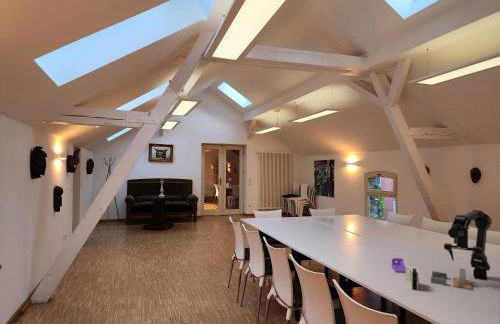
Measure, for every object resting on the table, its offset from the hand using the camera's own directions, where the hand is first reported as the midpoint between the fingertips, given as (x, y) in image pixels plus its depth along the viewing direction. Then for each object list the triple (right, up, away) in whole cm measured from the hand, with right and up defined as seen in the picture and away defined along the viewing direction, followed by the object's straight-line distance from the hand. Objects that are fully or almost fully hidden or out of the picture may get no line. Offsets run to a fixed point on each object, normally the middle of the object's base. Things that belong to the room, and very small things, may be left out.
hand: (462, 262), depth 193 cm
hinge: (-32, -13, -4) cm, 35 cm away
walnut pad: (0, -13, -1) cm, 13 cm away
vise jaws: (-11, -13, +6) cm, 18 cm away
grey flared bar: (0, -12, -1) cm, 12 cm away
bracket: (-26, -14, +25) cm, 39 cm away
